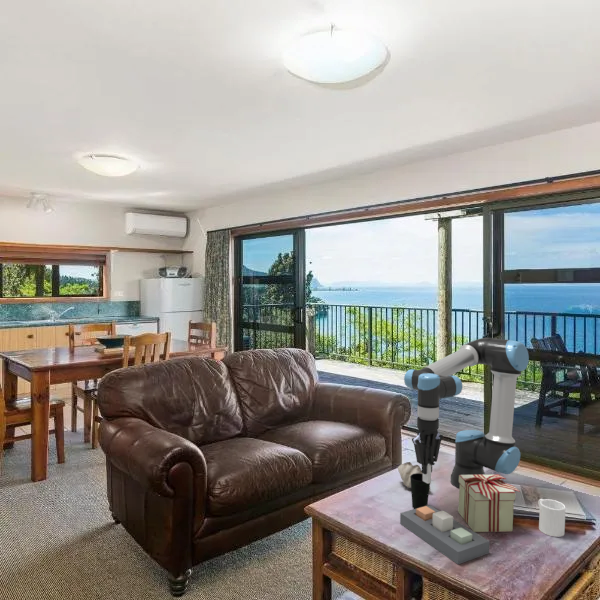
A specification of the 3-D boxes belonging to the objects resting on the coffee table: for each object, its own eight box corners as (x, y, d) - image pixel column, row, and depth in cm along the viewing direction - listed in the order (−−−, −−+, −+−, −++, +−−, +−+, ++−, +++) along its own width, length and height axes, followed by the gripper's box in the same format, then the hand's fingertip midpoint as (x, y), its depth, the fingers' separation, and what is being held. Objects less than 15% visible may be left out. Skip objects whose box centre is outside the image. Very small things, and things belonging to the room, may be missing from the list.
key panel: (429, 515, 183) (429, 504, 183) (489, 553, 158) (489, 541, 158) (400, 523, 176) (400, 512, 176) (457, 564, 152) (458, 552, 151)
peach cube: (425, 519, 178) (426, 505, 178) (435, 525, 174) (435, 511, 174) (415, 522, 176) (416, 508, 176) (424, 528, 172) (425, 514, 171)
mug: (548, 519, 181) (549, 493, 180) (569, 536, 169) (570, 509, 168) (527, 520, 180) (528, 494, 179) (548, 537, 168) (549, 510, 167)
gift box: (479, 539, 167) (481, 490, 166) (454, 513, 185) (455, 469, 184) (524, 535, 169) (526, 487, 168) (495, 510, 188) (496, 466, 187)
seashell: (415, 479, 215) (416, 457, 214) (433, 494, 200) (433, 471, 200) (394, 481, 212) (395, 459, 212) (410, 497, 198) (411, 473, 197)
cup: (430, 513, 185) (431, 482, 184) (409, 510, 186) (410, 480, 186) (429, 503, 192) (429, 474, 192) (409, 501, 194) (410, 472, 193)
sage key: (460, 541, 163) (461, 527, 163) (471, 549, 159) (472, 534, 158) (450, 545, 161) (450, 530, 160) (461, 552, 157) (461, 537, 156)
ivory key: (442, 524, 170) (443, 510, 170) (452, 530, 166) (453, 516, 166) (432, 527, 168) (432, 513, 168) (442, 534, 164) (442, 519, 164)
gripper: (434, 412, 179) (433, 474, 180) (406, 417, 173) (405, 481, 174) (449, 417, 173) (447, 482, 174) (421, 422, 167) (419, 489, 168)
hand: (426, 481), depth 174 cm, fingers closed
